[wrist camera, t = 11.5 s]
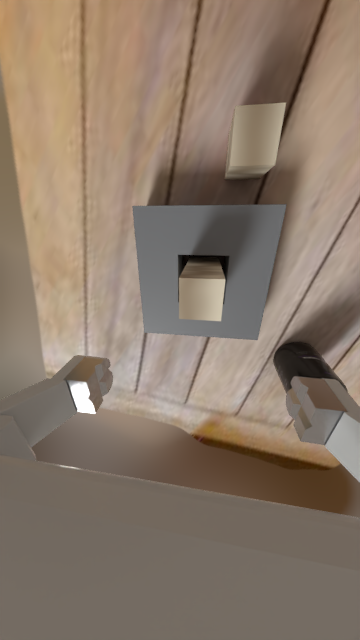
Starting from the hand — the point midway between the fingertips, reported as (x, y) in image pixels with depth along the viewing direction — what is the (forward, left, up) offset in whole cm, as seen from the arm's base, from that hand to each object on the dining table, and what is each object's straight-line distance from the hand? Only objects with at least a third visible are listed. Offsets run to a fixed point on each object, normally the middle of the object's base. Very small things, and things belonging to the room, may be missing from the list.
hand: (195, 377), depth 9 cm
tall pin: (0, 0, -22) cm, 22 cm away
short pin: (-4, -13, -22) cm, 26 cm away
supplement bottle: (-16, +14, -22) cm, 31 cm away
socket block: (0, 0, -22) cm, 22 cm away
